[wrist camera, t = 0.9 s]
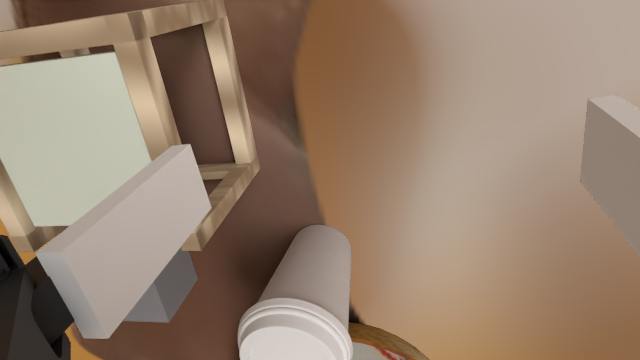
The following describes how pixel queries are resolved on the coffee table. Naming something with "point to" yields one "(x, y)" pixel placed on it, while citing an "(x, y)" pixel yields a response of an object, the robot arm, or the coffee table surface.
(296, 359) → the coffee cup
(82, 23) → the maple stand
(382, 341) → the bowl
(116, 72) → the trapdoor
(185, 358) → the coffee table surface
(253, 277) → the coffee table surface
